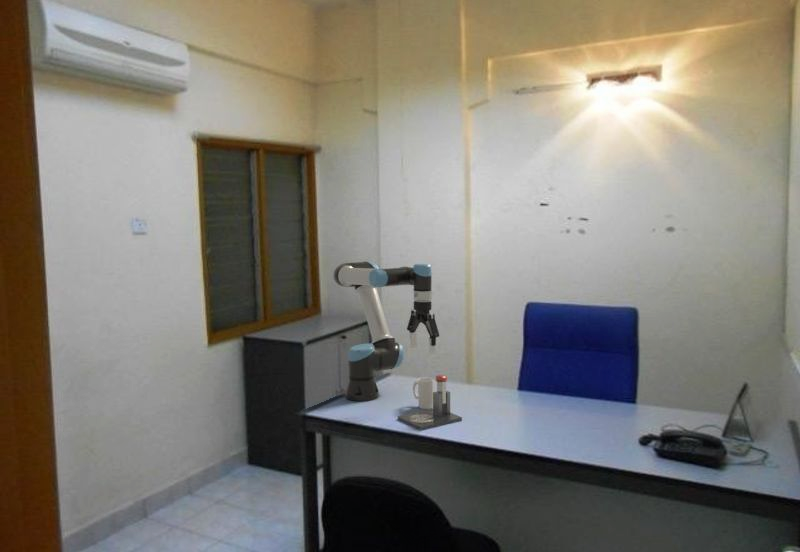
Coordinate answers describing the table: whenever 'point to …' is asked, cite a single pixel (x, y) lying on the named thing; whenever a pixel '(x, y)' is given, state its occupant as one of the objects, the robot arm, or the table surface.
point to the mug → (424, 392)
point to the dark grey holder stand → (432, 414)
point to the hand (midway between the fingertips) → (422, 350)
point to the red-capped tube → (441, 386)
